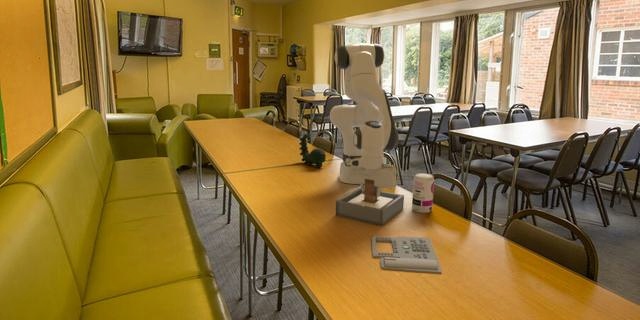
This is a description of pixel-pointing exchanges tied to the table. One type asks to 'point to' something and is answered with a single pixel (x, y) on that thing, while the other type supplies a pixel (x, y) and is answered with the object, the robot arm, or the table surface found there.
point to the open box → (370, 207)
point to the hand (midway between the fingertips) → (370, 195)
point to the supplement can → (423, 193)
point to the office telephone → (408, 254)
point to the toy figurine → (311, 153)
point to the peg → (370, 191)
